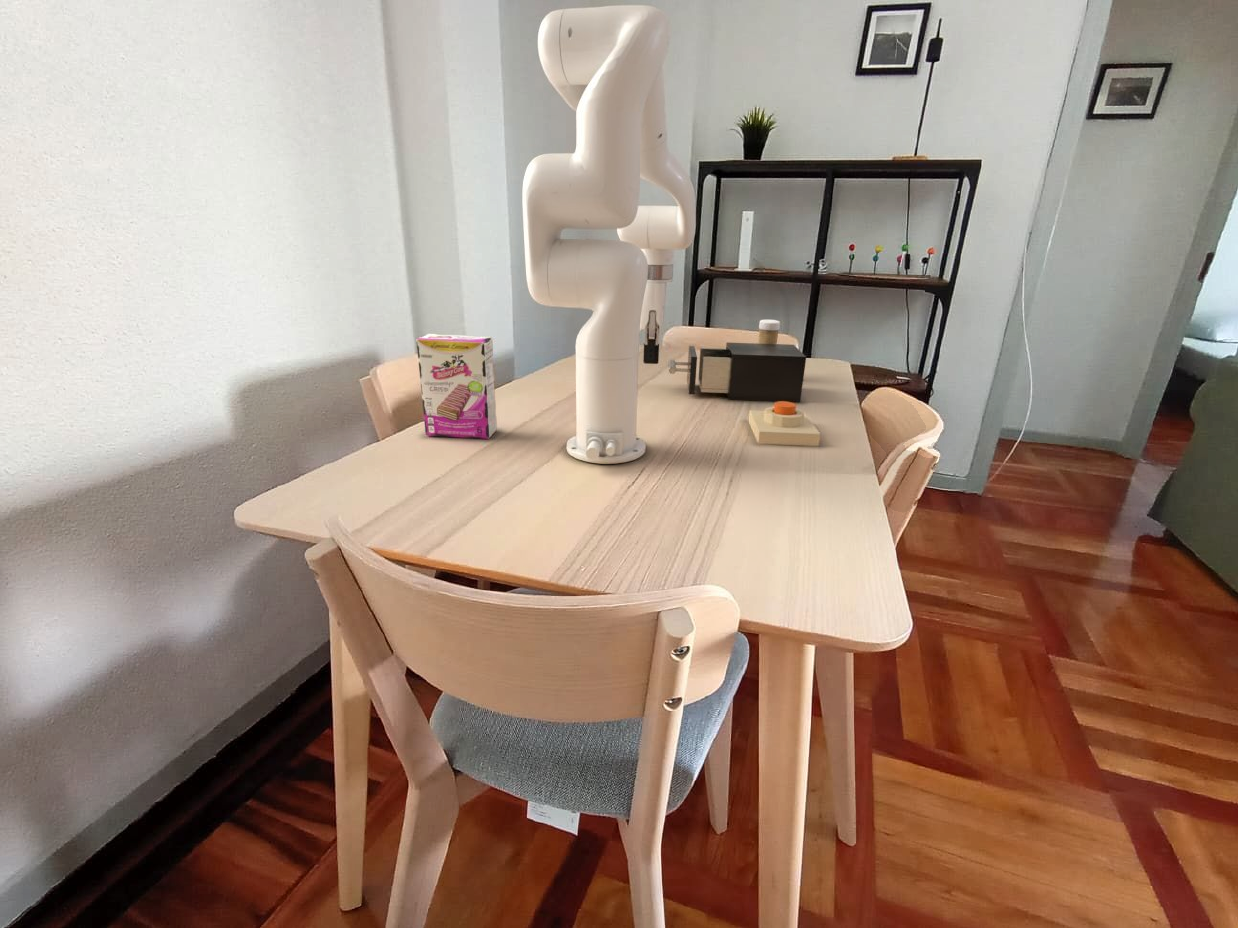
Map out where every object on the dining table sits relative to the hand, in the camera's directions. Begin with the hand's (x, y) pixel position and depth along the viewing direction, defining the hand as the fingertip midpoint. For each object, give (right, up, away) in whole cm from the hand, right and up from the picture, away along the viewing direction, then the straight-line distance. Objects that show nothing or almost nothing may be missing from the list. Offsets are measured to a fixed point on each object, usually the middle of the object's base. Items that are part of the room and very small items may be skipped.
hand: (650, 362), depth 130 cm
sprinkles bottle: (+27, -2, +14) cm, 31 cm away
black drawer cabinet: (+23, -7, +1) cm, 24 cm away
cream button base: (+22, -16, -23) cm, 36 cm away
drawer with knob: (+13, -5, +1) cm, 14 cm away
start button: (+22, -13, -25) cm, 35 cm away
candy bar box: (-34, -17, -27) cm, 46 cm away
